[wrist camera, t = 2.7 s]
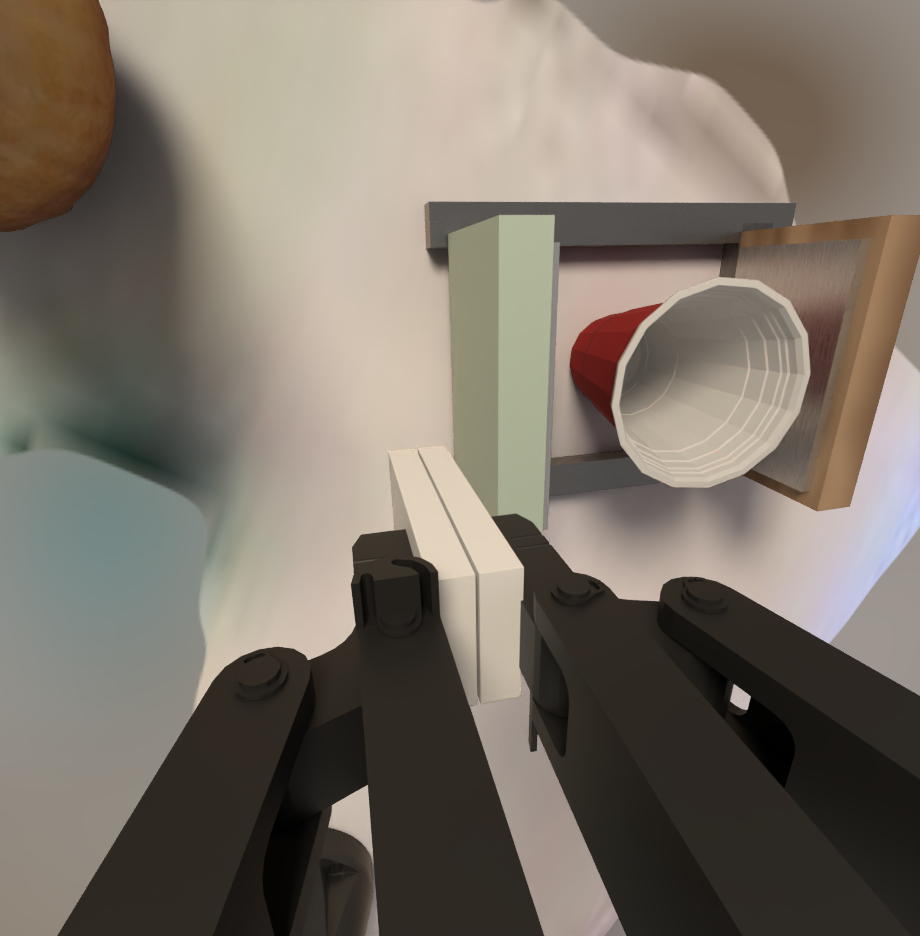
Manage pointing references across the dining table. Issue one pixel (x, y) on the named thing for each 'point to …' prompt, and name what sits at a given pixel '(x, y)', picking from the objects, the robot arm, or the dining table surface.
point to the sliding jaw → (504, 359)
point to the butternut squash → (52, 106)
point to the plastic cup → (698, 379)
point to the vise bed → (788, 273)
